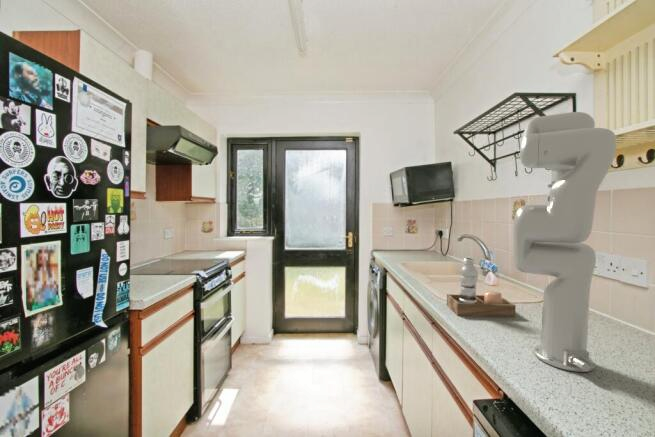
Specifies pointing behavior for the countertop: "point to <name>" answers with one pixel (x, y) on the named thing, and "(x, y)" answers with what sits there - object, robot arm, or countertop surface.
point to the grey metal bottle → (468, 282)
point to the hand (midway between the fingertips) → (562, 236)
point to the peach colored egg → (492, 297)
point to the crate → (480, 307)
